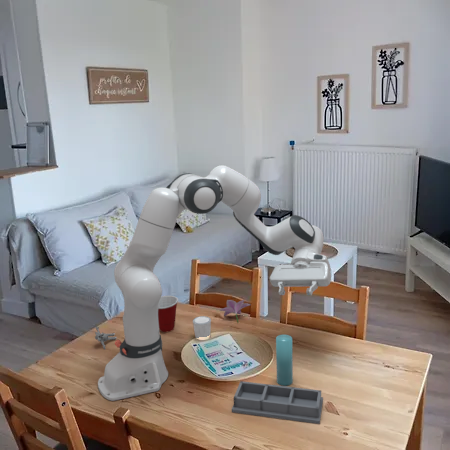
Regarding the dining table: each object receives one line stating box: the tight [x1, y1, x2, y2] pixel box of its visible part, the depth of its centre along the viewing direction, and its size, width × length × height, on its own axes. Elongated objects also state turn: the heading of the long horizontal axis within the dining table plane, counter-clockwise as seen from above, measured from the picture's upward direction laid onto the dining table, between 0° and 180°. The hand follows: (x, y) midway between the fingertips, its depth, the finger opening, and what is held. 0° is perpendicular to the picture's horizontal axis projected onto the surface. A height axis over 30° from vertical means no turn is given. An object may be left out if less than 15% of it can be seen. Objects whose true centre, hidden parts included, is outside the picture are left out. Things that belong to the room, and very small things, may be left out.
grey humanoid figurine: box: [94, 325, 117, 350], centre depth 185 cm, size 10×6×9 cm
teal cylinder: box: [275, 334, 294, 387], centre depth 154 cm, size 5×5×15 cm
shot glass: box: [192, 315, 212, 339], centre depth 186 cm, size 7×7×7 cm
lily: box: [219, 299, 251, 323], centre depth 199 cm, size 12×12×10 cm
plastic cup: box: [158, 295, 179, 333], centre depth 193 cm, size 11×11×12 cm
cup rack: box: [231, 380, 324, 425], centre depth 144 cm, size 25×11×4 cm, turn 74°
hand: (294, 293), depth 159 cm, fingers open, 8 cm apart
